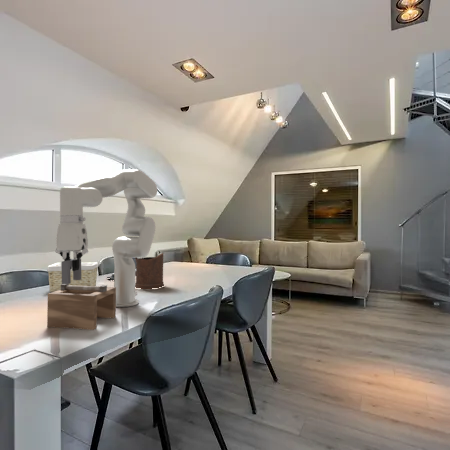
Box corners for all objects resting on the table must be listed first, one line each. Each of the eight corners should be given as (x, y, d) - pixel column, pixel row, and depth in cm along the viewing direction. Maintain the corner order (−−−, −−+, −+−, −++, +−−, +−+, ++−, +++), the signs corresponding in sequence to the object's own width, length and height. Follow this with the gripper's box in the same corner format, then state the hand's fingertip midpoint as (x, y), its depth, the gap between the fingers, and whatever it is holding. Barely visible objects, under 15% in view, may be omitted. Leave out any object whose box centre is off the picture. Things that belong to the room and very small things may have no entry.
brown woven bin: (161, 290, 179) (162, 246, 179) (119, 289, 180) (120, 246, 180) (167, 284, 198) (168, 244, 198) (130, 283, 198) (130, 244, 198)
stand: (74, 314, 129) (75, 280, 129) (115, 316, 126) (116, 282, 127) (47, 326, 113) (47, 288, 113) (93, 329, 111) (94, 290, 111)
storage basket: (45, 292, 169) (46, 265, 169) (55, 287, 185) (56, 262, 185) (92, 291, 174) (93, 265, 174) (98, 286, 190) (99, 261, 190)
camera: (113, 279, 216) (113, 272, 216) (121, 281, 209) (121, 274, 209) (106, 279, 212) (106, 273, 212) (114, 281, 205) (114, 275, 205)
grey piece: (75, 279, 120) (75, 258, 120) (81, 279, 120) (81, 258, 119) (61, 283, 112) (61, 261, 112) (67, 284, 112) (67, 261, 111)
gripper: (97, 220, 118) (97, 269, 118) (58, 220, 120) (59, 267, 121) (85, 220, 110) (85, 272, 111) (44, 220, 113) (45, 271, 113)
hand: (71, 269), depth 116 cm, fingers closed on grey piece, 2 cm apart
